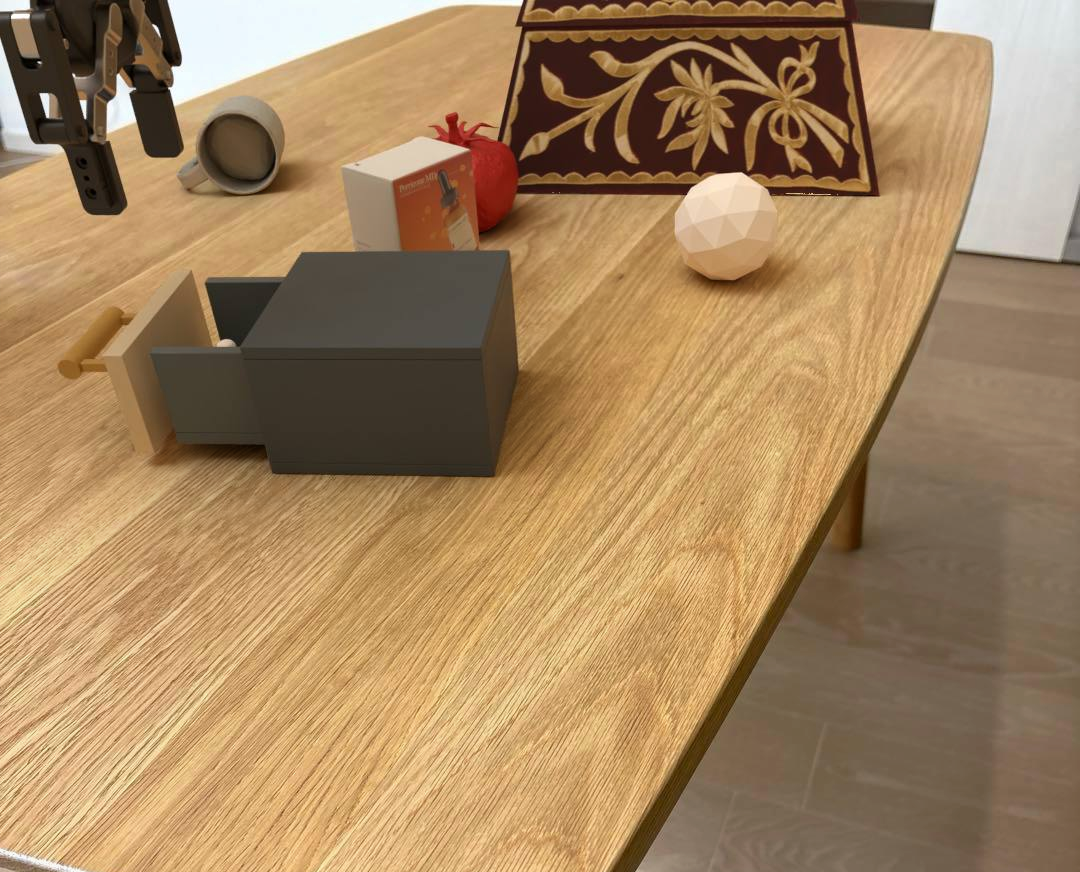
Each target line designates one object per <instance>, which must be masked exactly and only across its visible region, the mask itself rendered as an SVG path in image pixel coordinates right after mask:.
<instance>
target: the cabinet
mask: <svg viewBox="0 0 1080 872" xmlns="http://www.w3.org/2000/svg"><path fill="white" fill-rule="evenodd" d="M284 277H285V278H284V280H283V281H282V283H281V285H280V286H279V288H278V289H277V291H276V292H275V294H274V295H273V297H272V298H271V300H270V301H269V303H268V305H267V306H266V308H265V309H264V311H263V312H262V314H261V315H260V317H259V318H258V320H257V321H256V323H255V324H254V326H253V328H252V329H251V331H250V332H249V334H248V335H247V337H246V338H245V340H244V341H243V343H242V344H241V346H240V350H241V354H242V358H243V363H244V367H245V370H246V374H247V378H248V382H249V386H250V390H251V394H252V397H253V401H254V405H255V409H256V413H257V417H258V421H259V425H260V428H261V432H262V436H263V440H264V444H265V445H264V447H265V451H266V455H267V459H268V463H269V466H270V469H271V473H272V474H303V475H304V474H307V475H308V474H312V475H314V474H316V475H371V476H372V475H373V476H374V475H375V476H376V475H378V476H439V477H441V476H444V477H445V476H446V477H494V476H495V473H496V469H497V465H498V460H499V456H500V452H501V447H502V443H503V438H504V434H505V430H506V425H507V422H508V417H509V412H510V409H511V408H510V407H511V405H512V399H513V397H514V396H513V394H514V392H515V391H514V390H515V386H516V383H517V378H518V374H519V369H520V368H519V353H518V352H519V351H518V340H517V327H516V314H515V313H516V311H515V300H514V299H515V298H514V289H513V287H514V286H513V274H512V262H511V251H510V249H493V250H492V249H487V250H486V249H483V250H481V249H480V250H471V251H361V252H355V251H301V252H300V253H299V255H298V257H297V258H296V260H295V261H294V263H293V265H292V266H291V268H290V269H289V271H288V272H287V274H286V275H285V276H284Z"/></svg>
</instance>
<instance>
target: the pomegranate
mask: <svg viewBox="0 0 1080 872" xmlns="http://www.w3.org/2000/svg"><path fill="white" fill-rule="evenodd" d="M444 119H445V120H444V121H445V123H446V124H447V125H448V127H447V128H448V131H447V130H446V129H444V128H443V127H442V126H440V125H437V124H432V125H427V128H434V129H435V130H436V132H437V134H438V135H439V136H437V137H430V138H431V139H435V140H438V141H442V142H446V143H449V144H453V145H457V146H460V147H464V148H467V149H470V150H471V153H472V164H473V177H474V188H475V199H476V210H477V222H478V233H483V232H486V231H488V230H490V229H494V228H495V226H496V225H497V224H498V223H499V222H501V221H502V220H503V219H504V218H505V217H506V216H507V215H508V214H509V212H510V210H512V209H513V207H514V203H515V199H516V195H517V193H516V192H517V187H518V169H517V163H516V161H515V156H514V154H513V152H512V151H511V149H510V148H509V147H508V146H507V145H506V144H504V143H502V142H499V141H497V139H496V140H495V139H492V138H490V137H488V135H484V134H483V135H482V134H479V133H477V131H478V130H479V129H480V128H482V127H483V128H491V129H500V126H493V125H491V124H488V123H486V122H479V123H477V124H475V125H474V126H472V127H470V128H469V129H468V130H465V125H467V124H468V122H467V121H465V120H462V121H461V122H460V124H459V125H458V121H459V114H458V112H456V111H454V112H449V113H448V114H446V115H445V118H444Z"/></svg>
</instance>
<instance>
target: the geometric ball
mask: <svg viewBox="0 0 1080 872" xmlns="http://www.w3.org/2000/svg"><path fill="white" fill-rule="evenodd" d="M771 196H772V195H770V194H769V192H768V190H767V189H766V188H764V187H763V186H761V185H760V184H758V183H757V182H755V181H754V180H752V179H751V178H749V177H748V176H746V175H745V174H743V173H727V174H716V175H713V176H710V177H708V178H706V179H705V180H703V181H702V182H700V183H698V184H697V185H695V186H694V187H692V188H691V189H690V190H689V192H688V194H687V195H685V196H684V197H683V198H684V199H683V200H682V201H681V203H680V205H679V206H678V208H677V210H676V211H675V213H674V237H675V240H676V244H677V246H678V248H679V251H680V255H681V257H682V259H683V262H684V265H686V266H687V267H688V268H690V269H692V270H694V271H696V272H697V273H699V274H701V275H702V276H704V277H705V278H707V279H709V280H711V281H714V280H715V281H736V280H737V279H740V278H742V277H743V276H745V275H747V274H749V273H752V272H753V271H755V270H757V269H759V268H762V267H763V265H764V264H765V262H766V260H767V259H768V258H769V255H770V254H771V252H772V251H773V249H774V248H775V246H776V245H777V244H778V242H779V212H778V210H777V207H776V206H775V203H774V201H773V198H772V197H771Z"/></svg>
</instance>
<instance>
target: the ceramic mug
mask: <svg viewBox="0 0 1080 872" xmlns="http://www.w3.org/2000/svg"><path fill="white" fill-rule="evenodd" d="M285 145H286V134H285V129H284V126H283V122H282V120H281V118H280V116H279V115H278V113H277V112H276V110H274V108H273V107H272V106H271V105H270V104H268V103H267V102H265V101H264V100H263V99H260V98H258V97H256V96H253V95H244V94H243V95H235V96H231V97H228V98H226V99H223V100H222V101H221V102H220V103H219V104H217V106H215V107H214V109H213V110H212V112H211V113H210V114H209V116H208V117H207V118H206V119H205V121H204V122H203V123H202V125H201V127H199V130H198V132H197V135H196V140H195V154H196V155H195V156H193V157H192V158H191V159H190V160H189V161H187V162H186V163H185V164H184V165H182V167H181V168H180V169H179V170H178V171H177V172H176V178H177V179H178V180H179V182H180V183H181V185H182V186H183V187H184V188H185V189H192V188H196V187H198V186H199V185H201V184H203V183H205V182H206V181H208V180H209V181H210V182H211V183H212V184H213V185H215V186H216V187H217V188H219V189H221V190H223V191H225V192H227V193H230V194H235V195H252V194H255V193H256V194H257V193H258V192H261V191H262V190H264V189H266V188H267V187H268V186H270V185H271V183H272V182H273V181H274V179H276V176H277V175H278V172H279V168H280V167H281V166H280V165H281V161H282V157H283V154H284V150H285Z"/></svg>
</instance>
